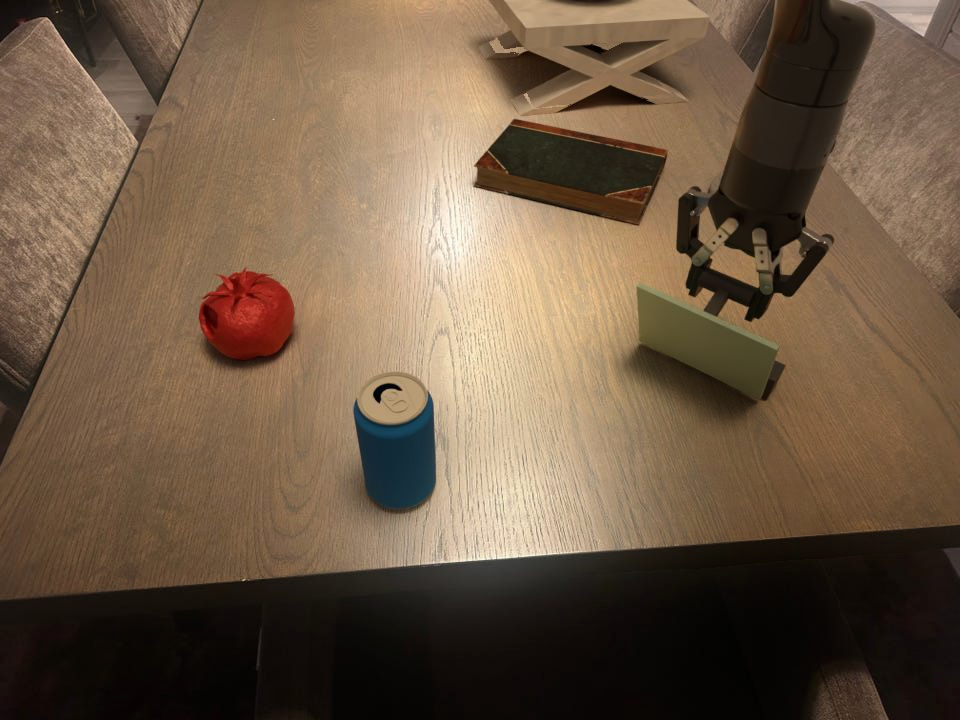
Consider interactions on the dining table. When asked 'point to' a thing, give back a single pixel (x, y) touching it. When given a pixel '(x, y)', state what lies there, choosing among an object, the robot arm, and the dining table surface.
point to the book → (572, 170)
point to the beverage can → (396, 439)
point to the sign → (708, 333)
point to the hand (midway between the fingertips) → (723, 304)
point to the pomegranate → (247, 315)
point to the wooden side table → (596, 20)
